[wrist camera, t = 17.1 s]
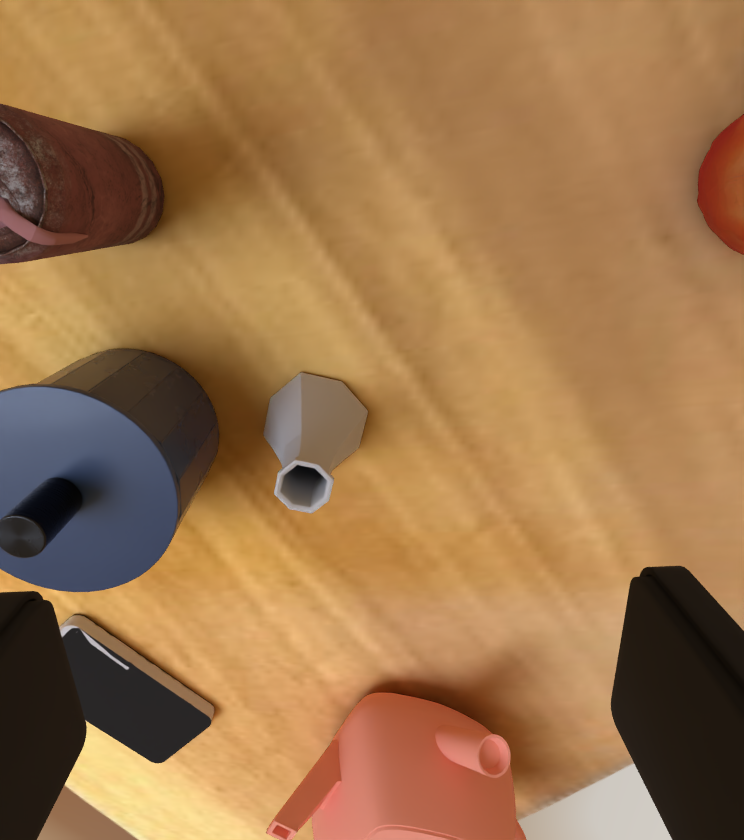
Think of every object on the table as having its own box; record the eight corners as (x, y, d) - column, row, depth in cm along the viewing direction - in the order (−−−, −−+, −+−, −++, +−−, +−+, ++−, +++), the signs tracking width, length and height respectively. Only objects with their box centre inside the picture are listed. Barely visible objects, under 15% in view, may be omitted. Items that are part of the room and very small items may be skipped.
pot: (17, 421, 40) (-81, 483, 31) (127, 313, 37) (55, 346, 28) (144, 528, 43) (88, 612, 34) (253, 435, 40) (224, 500, 32)
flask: (246, 437, 40) (214, 507, 31) (296, 353, 38) (277, 401, 29) (333, 484, 42) (327, 563, 33) (385, 405, 40) (394, 467, 31)
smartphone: (158, 766, 50) (12, 674, 46) (163, 752, 51) (21, 661, 47) (215, 721, 48) (69, 621, 44) (219, 708, 50) (77, 609, 45)
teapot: (528, 779, 54) (583, 961, 41) (348, 828, 56) (346, 1017, 43) (476, 637, 48) (522, 799, 35) (275, 698, 49) (246, 873, 36)
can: (145, 264, 36) (26, 299, 23) (50, 208, 35) (-135, 210, 22) (187, 177, 34) (84, 161, 21) (88, 114, 33) (-88, 54, 20)
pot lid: (-95, 478, 31) (-176, 527, 26) (50, 330, 29) (-11, 355, 24) (86, 615, 35) (43, 680, 30) (230, 496, 32) (208, 547, 27)
